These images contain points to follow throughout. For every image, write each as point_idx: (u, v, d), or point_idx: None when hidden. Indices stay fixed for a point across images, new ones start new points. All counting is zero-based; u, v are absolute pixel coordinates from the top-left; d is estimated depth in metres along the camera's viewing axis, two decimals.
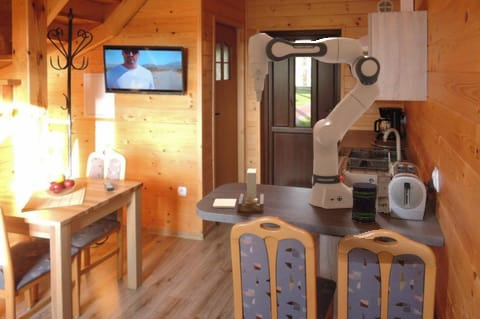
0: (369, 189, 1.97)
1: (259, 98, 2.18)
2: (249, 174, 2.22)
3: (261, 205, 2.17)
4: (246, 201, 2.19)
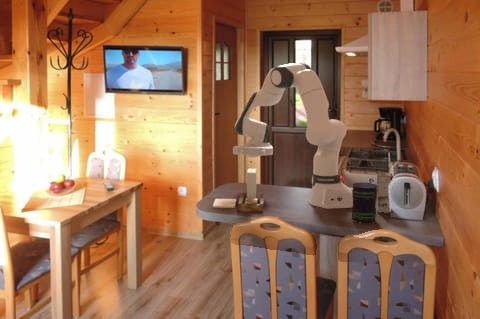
0: (369, 189, 1.97)
1: (241, 151, 2.43)
2: (249, 174, 2.22)
3: (261, 205, 2.17)
4: (246, 201, 2.19)
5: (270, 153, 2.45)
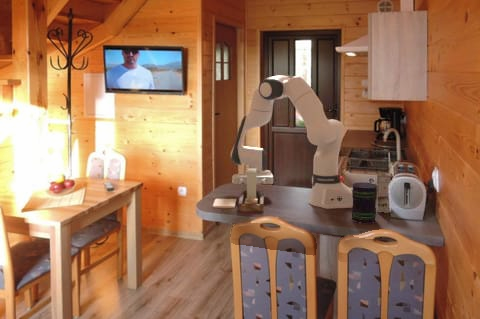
0: (369, 189, 1.97)
1: (241, 180, 2.36)
2: (249, 174, 2.22)
3: (261, 205, 2.17)
4: (246, 201, 2.19)
5: (270, 182, 2.39)
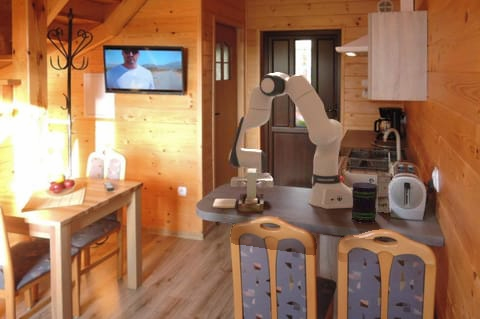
0: (369, 189, 1.97)
1: (244, 184, 2.28)
2: (249, 174, 2.22)
3: (261, 205, 2.17)
4: (246, 201, 2.19)
5: (270, 185, 2.31)
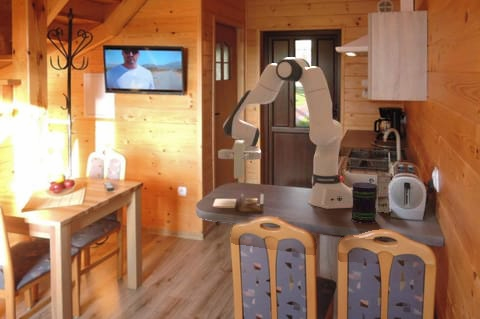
0: (369, 189, 1.97)
1: None
2: (236, 145, 2.20)
3: (261, 205, 2.17)
4: (246, 201, 2.19)
5: (258, 157, 2.29)
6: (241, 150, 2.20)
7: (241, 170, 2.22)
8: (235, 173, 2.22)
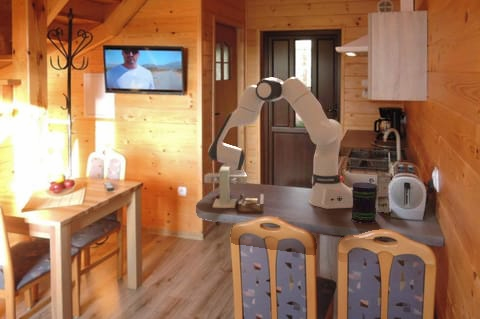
0: (369, 189, 1.97)
1: None
2: (221, 172, 2.22)
3: (261, 205, 2.17)
4: (246, 201, 2.19)
5: (244, 181, 2.31)
6: (226, 177, 2.22)
7: (227, 197, 2.24)
8: (221, 200, 2.24)
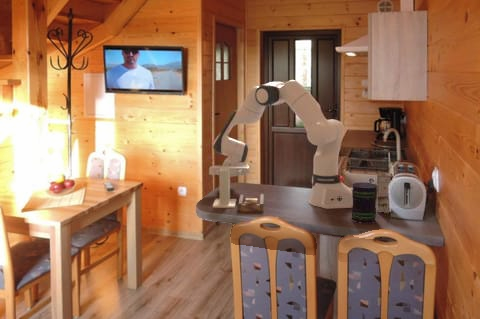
0: (369, 189, 1.97)
1: None
2: (221, 172, 2.22)
3: (261, 205, 2.17)
4: (246, 201, 2.19)
5: (246, 173, 2.44)
6: (226, 177, 2.22)
7: (227, 197, 2.24)
8: (221, 200, 2.24)
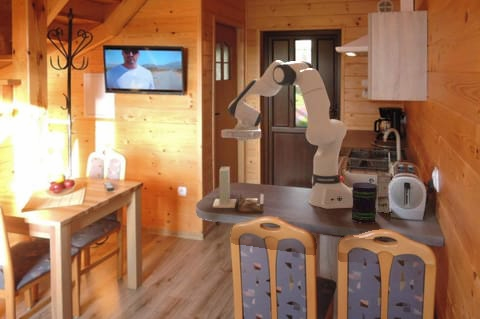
0: (369, 189, 1.97)
1: (229, 134, 2.44)
2: (221, 172, 2.22)
3: (261, 205, 2.17)
4: (246, 201, 2.19)
5: (258, 136, 2.46)
6: (226, 177, 2.22)
7: (227, 197, 2.24)
8: (221, 200, 2.24)
